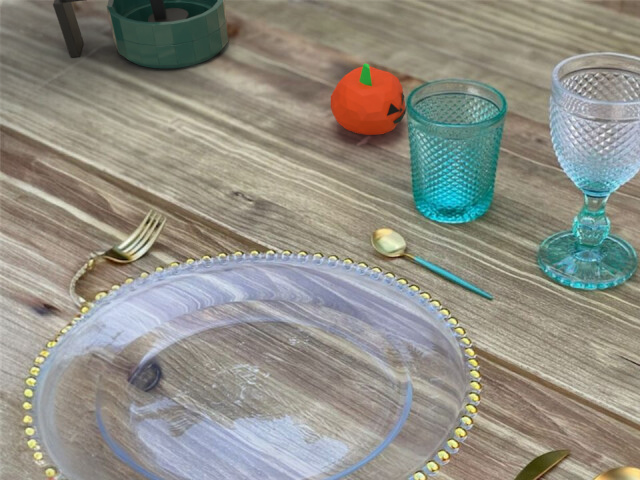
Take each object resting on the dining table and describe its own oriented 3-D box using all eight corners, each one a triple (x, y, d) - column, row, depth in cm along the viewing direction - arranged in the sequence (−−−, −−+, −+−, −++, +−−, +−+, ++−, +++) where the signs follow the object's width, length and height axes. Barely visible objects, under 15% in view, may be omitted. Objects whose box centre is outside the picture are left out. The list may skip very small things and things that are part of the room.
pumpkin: (400, 104, 94) (400, 41, 89) (410, 145, 88) (411, 80, 83) (329, 108, 93) (325, 45, 88) (334, 150, 87) (330, 85, 83)
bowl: (111, 73, 98) (100, 27, 95) (123, 24, 107) (113, -20, 103) (227, 68, 99) (221, 21, 96) (230, 19, 108) (224, -25, 104)
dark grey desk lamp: (194, 28, 104) (180, -33, 99) (192, 45, 101) (178, -17, 96) (75, 41, 104) (55, -19, 99) (69, 59, 101) (49, -3, 96)
